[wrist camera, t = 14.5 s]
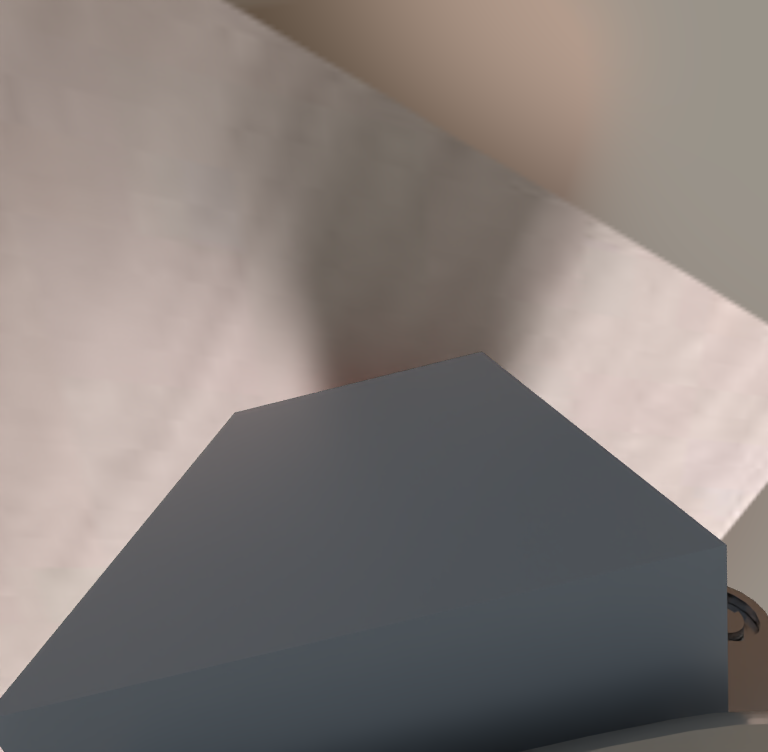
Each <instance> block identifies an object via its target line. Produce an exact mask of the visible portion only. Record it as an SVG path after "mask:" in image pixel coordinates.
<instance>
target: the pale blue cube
mask: <svg viewBox="0 0 768 752" xmlns="http://www.w3.org/2000/svg"><path fill="white" fill-rule="evenodd" d="M726 547H727V545H726V544H725V543H723V542H722V541H721V540H720V539H718V538H717V537H716V536H715V535H713V534H712V533H711V532H709V531H708V530H707V529H706V528H704V527H703V526H702V525H701V524H699V523H698V522H697V521H696V520H694V519H693V518H692V517H690V516H689V515H688V514H687V513H685V512H684V511H683V510H682V509H680V508H679V507H678V506H677V505H675V504H674V503H673V502H672V501H670V500H669V499H668V498H666V497H665V496H664V495H663V494H661V493H660V492H659V491H658V490H656V489H655V488H654V487H653V486H651V485H650V484H649V483H647V482H646V481H645V480H644V479H642V478H641V477H640V476H639V475H637V474H636V473H635V472H634V471H632V470H631V469H630V468H629V467H627V466H626V465H625V464H623V463H622V462H621V461H620V460H618V459H617V458H616V457H615V456H613V455H612V454H611V453H610V452H608V451H607V450H606V449H605V448H603V447H602V446H601V445H599V444H598V443H597V442H596V441H594V440H593V439H592V438H591V437H589V436H588V435H587V434H586V433H584V432H583V431H582V430H580V429H579V428H578V427H577V426H575V425H574V424H573V423H572V422H570V421H569V420H568V419H567V418H565V417H564V416H563V415H562V414H560V413H559V412H558V411H556V410H555V409H554V408H553V407H551V406H550V405H549V404H548V403H546V402H545V401H544V400H543V399H541V398H540V397H539V396H537V395H536V394H535V393H534V392H532V391H531V390H530V389H529V388H527V387H526V386H525V385H524V384H522V383H521V382H520V381H519V380H517V379H516V378H515V377H513V376H512V375H511V374H510V373H508V372H507V371H506V370H505V369H503V368H502V367H501V366H500V365H498V364H497V363H496V362H495V361H493V360H492V359H491V358H489V357H488V356H487V355H486V354H484V353H483V352H478V353H474V354H470V355H466V356H462V357H458V358H454V359H450V360H446V361H442V362H438V363H434V364H430V365H426V366H422V367H418V368H413V369H409V370H405V371H401V372H397V373H393V374H389V375H385V376H381V377H377V378H373V379H369V380H365V381H361V382H357V383H353V384H349V385H345V386H341V387H337V388H333V389H328V390H324V391H320V392H316V393H312V394H308V395H304V396H300V397H296V398H292V399H288V400H284V401H280V402H276V403H272V404H268V405H264V406H260V407H256V408H252V409H247V410H243V411H239V412H235V413H234V414H233V415H232V417H231V418H230V419H229V420H228V421H227V423H226V424H225V425H224V426H223V427H222V429H221V430H220V431H219V432H218V434H217V435H216V436H215V437H214V438H213V440H212V441H211V442H210V443H209V445H208V446H207V447H206V448H205V449H204V451H203V452H202V453H201V454H200V456H199V457H198V458H197V459H196V460H195V462H194V463H193V464H192V465H191V467H190V468H189V469H188V470H187V471H186V473H185V474H184V475H183V476H182V477H181V479H180V480H179V481H178V482H177V484H176V485H175V486H174V487H173V488H172V490H171V491H170V492H169V493H168V495H167V496H166V497H165V498H164V499H163V501H162V502H161V503H160V504H159V506H158V507H157V508H156V509H155V510H154V512H153V513H152V514H151V515H150V517H149V518H148V519H147V520H146V521H145V523H144V524H143V525H142V526H141V527H140V529H139V530H138V531H137V532H136V534H135V535H134V536H133V537H132V538H131V540H130V541H129V542H128V543H127V545H126V546H125V547H124V548H123V549H122V551H121V552H120V553H119V554H118V556H117V557H116V558H115V559H114V560H113V562H112V563H111V564H110V565H109V566H108V568H107V569H106V570H105V571H104V573H103V574H102V575H101V576H100V577H99V579H98V580H97V581H96V582H95V584H94V585H93V586H92V587H91V588H90V590H89V591H88V592H87V593H86V595H85V596H84V597H83V598H82V599H81V601H80V602H79V603H78V604H77V606H76V607H75V608H74V609H73V610H72V612H71V613H70V614H69V615H68V616H67V618H66V619H65V620H64V621H63V623H62V624H61V625H60V626H59V627H58V629H57V630H56V631H55V632H54V634H53V635H52V636H51V637H50V638H49V640H48V641H47V642H46V643H45V645H44V646H43V647H42V648H41V649H40V651H39V652H38V653H37V654H36V656H35V657H34V658H33V659H32V660H31V662H30V663H29V664H28V665H27V666H26V668H25V669H24V670H23V671H22V673H21V674H20V675H19V676H18V677H17V679H16V680H15V681H14V682H13V684H12V685H11V686H10V687H9V688H8V690H7V691H6V692H5V693H4V695H3V696H2V697H1V698H0V747H1V748H2V749H3V751H4V752H521V751H525V750H530V749H534V748H538V747H543V746H547V745H552V744H556V743H561V742H565V741H569V740H574V739H578V738H583V737H587V736H592V735H597V734H602V733H606V732H611V731H616V730H621V729H626V728H631V727H636V726H641V725H646V724H651V723H655V722H660V721H665V720H670V719H677V718H683V717H690V716H697V715H704V714H711V713H723V712H728V631H727V548H726Z"/></svg>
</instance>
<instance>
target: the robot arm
mask: <svg viewBox="0 0 768 752" xmlns="http://www.w3.org/2000/svg"><path fill="white" fill-rule="evenodd" d="M727 631H728V712H723V713H711V714H704V715H697V716H690V717H683V718H677V719H670V720H665V721H660V722H655V723H651V724H646V725H641V726H636V727H631V728H626V729H621V730H616V731H611V732H606V733H602V734H597V735H592V736H587V737H583V738H578V739H574V740H569V741H565V742H561V743H556V744H552V745H547V746H543V747H538V748H534V749H530V750H525V751H521V752H768V616H767V614H766V612H765V611H764V610H763V609H762V608H761V607H760V606H759V605H758V604H757V603H756V602H755V601H754V600H752V599H751V598H749V597H748V596H746V595H745V594H743V593H742V592H740V591H737V590H735V589H733V588H730V587H728V586H727Z"/></svg>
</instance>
